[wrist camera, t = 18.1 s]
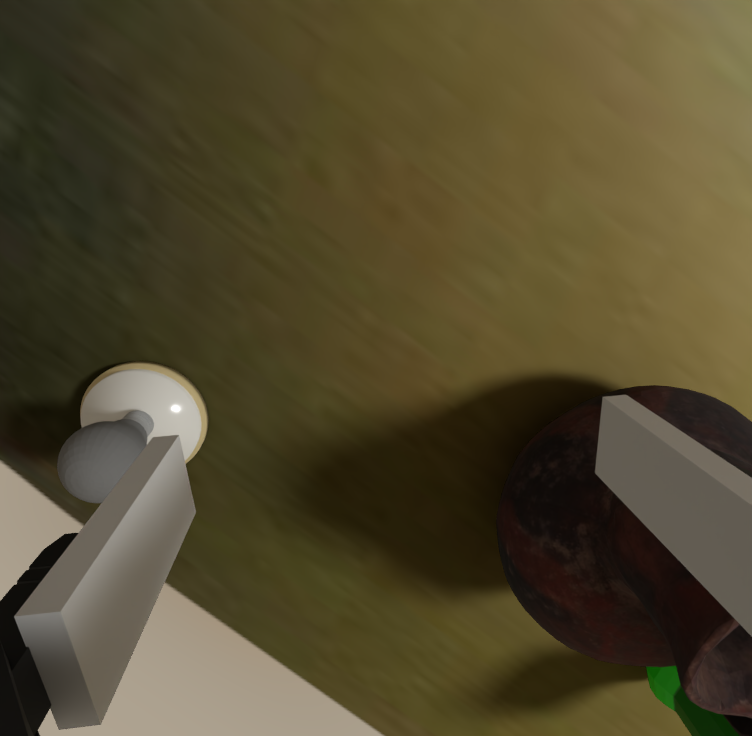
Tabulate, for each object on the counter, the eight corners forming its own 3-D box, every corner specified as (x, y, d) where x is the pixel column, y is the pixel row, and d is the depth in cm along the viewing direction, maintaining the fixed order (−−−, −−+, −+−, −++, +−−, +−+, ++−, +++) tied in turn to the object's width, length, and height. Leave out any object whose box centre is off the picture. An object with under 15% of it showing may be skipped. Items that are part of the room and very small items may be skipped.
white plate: (71, 366, 42) (60, 373, 40) (197, 356, 43) (191, 362, 41) (102, 473, 46) (93, 484, 44) (217, 462, 46) (213, 472, 45)
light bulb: (139, 463, 44) (86, 535, 34) (89, 415, 42) (19, 477, 32) (190, 427, 43) (150, 489, 34) (141, 376, 41) (85, 427, 32)
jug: (500, 598, 55) (625, 898, 31) (449, 404, 46) (568, 613, 23) (714, 536, 54) (1004, 793, 31) (702, 328, 46) (1088, 462, 22)
